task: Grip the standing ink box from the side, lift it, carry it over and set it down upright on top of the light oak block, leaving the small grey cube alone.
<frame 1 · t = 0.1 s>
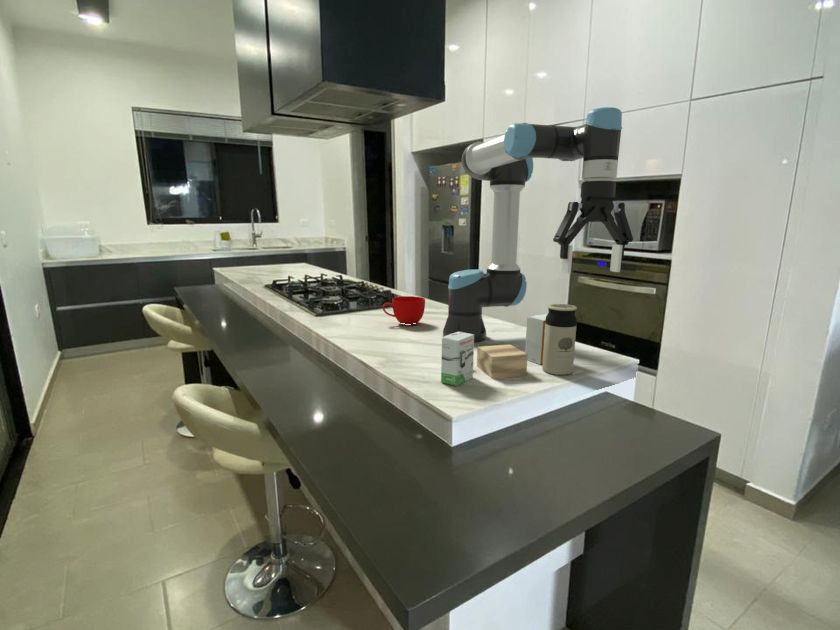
hand: (590, 272, 108), 28 cm above the counter, tool pointing down, fingers open, 13 cm apart
grey cube: (454, 366, 126), on the counter
travel mug: (557, 371, 122), on the counter
ceramic cup: (403, 324, 177), on the counter
oak block: (500, 371, 122), on the counter
small box: (541, 360, 132), on the counter
ink box: (457, 380, 115), on the counter
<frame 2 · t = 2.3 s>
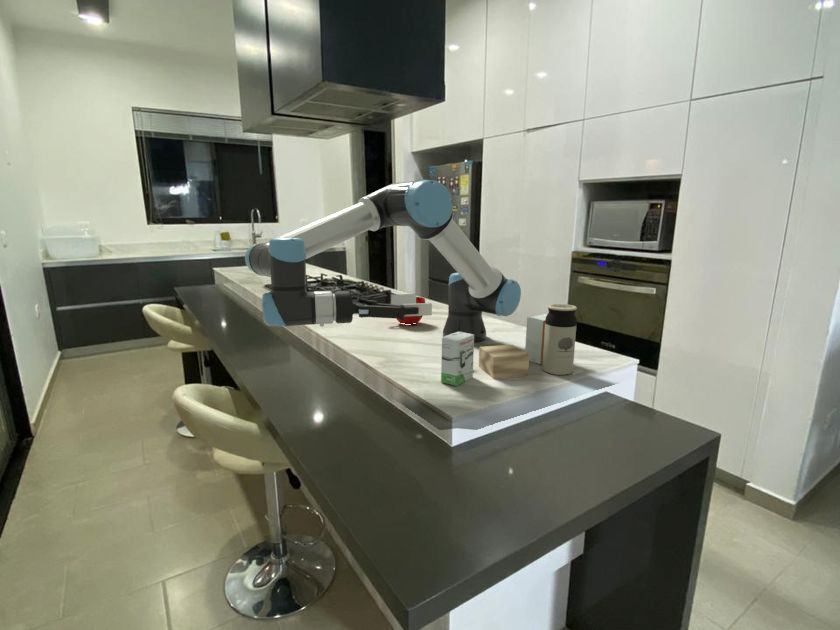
hand: (423, 303, 108), 20 cm above the counter, tool horizontal, fingers open, 13 cm apart
nothing on the counter moved.
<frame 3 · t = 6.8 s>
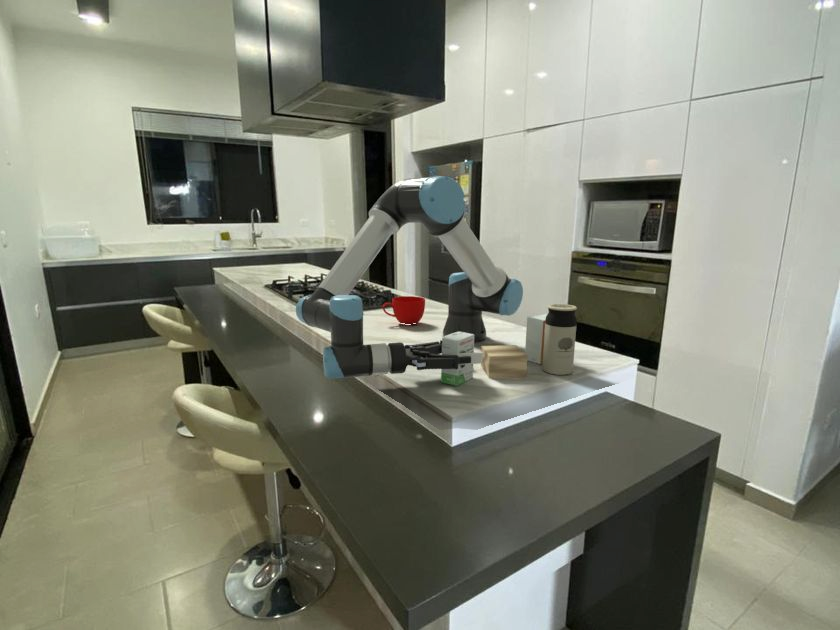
hand: (474, 352, 115), 7 cm above the counter, tool horizontal, fingers closed on ink box, 9 cm apart
ink box: (457, 380, 115), on the counter, touching gripper
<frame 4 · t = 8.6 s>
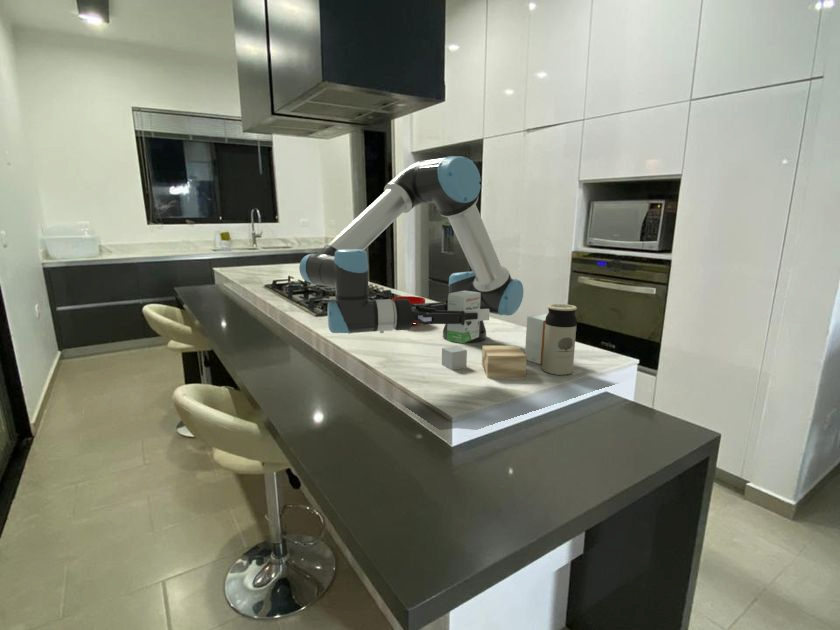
hand: (481, 310, 113), 18 cm above the counter, tool horizontal, fingers closed on ink box, 9 cm apart
ink box: (463, 339, 113), point 11 cm above the counter, touching gripper
when the fingers open (14 cm above the counter, at t = 10.8 s): ink box drops 2 cm, resting on oak block.
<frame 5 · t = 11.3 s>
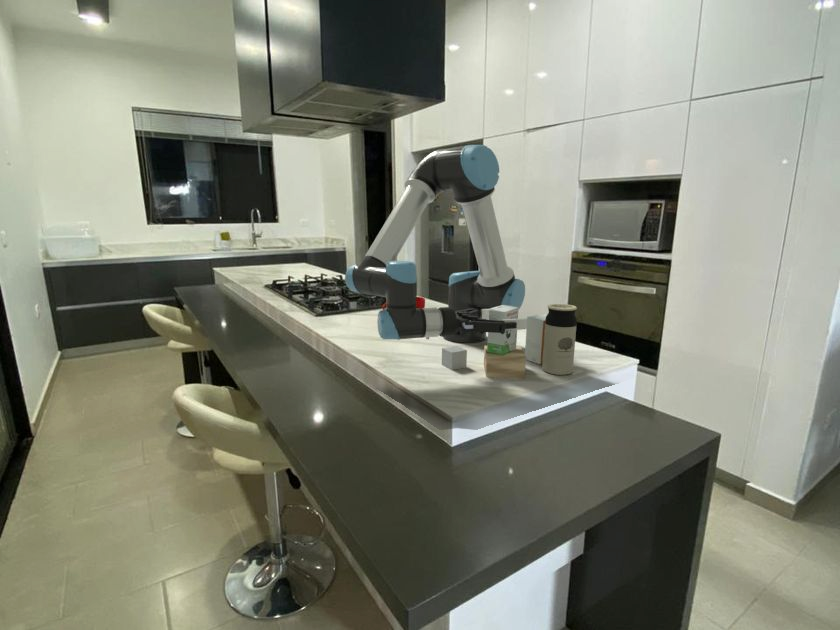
hand: (514, 318, 120), 14 cm above the counter, tool horizontal, fingers open, 13 cm apart
oak block: (503, 372, 122), on the counter, touching ink box
ink box: (501, 351, 121), point 5 cm above the counter, touching oak block
everything else where it was.
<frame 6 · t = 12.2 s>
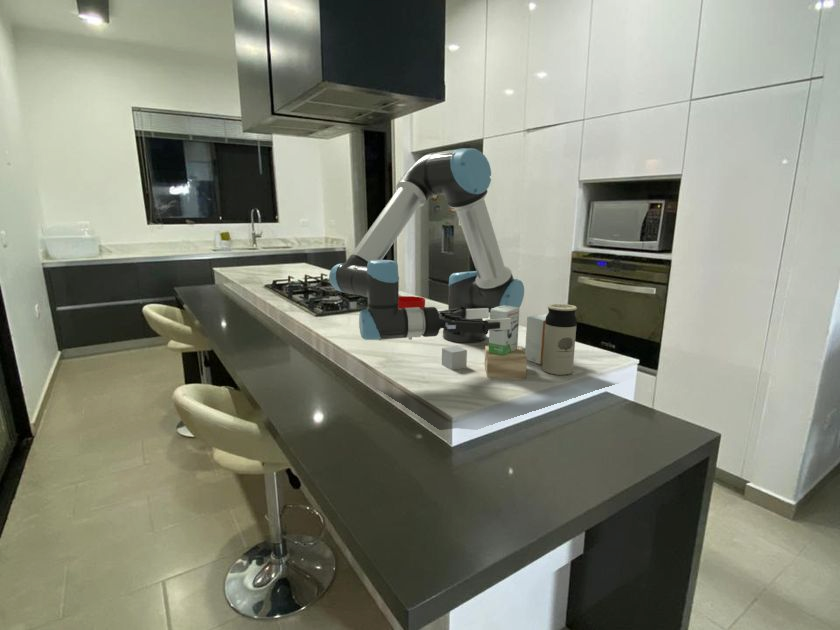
hand: (498, 318, 118), 15 cm above the counter, tool horizontal, fingers open, 13 cm apart
nothing on the counter moved.
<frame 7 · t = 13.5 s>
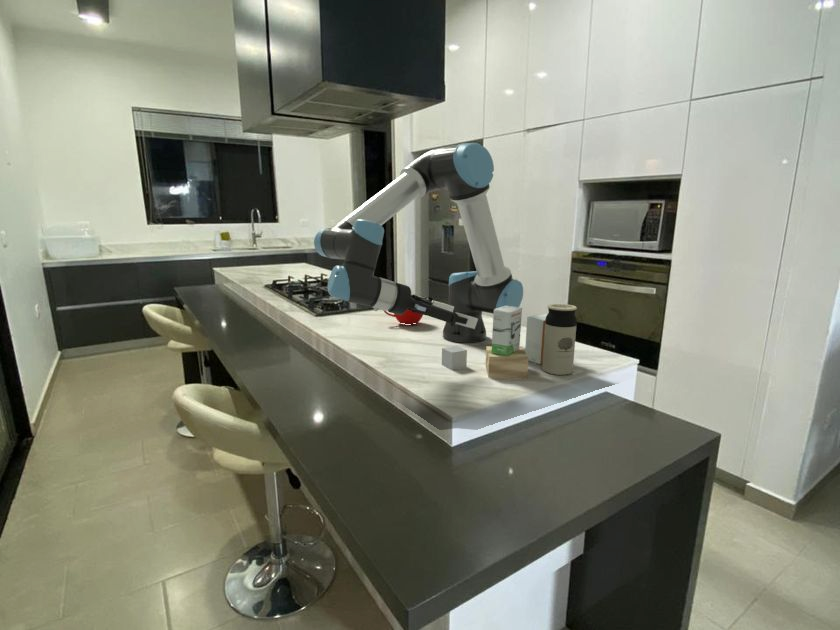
hand: (463, 317, 119), 15 cm above the counter, tool tilted 70°, fingers open, 13 cm apart
oak block: (505, 372, 122), on the counter
ink box: (505, 351, 121), point 5 cm above the counter
everything else where it was.
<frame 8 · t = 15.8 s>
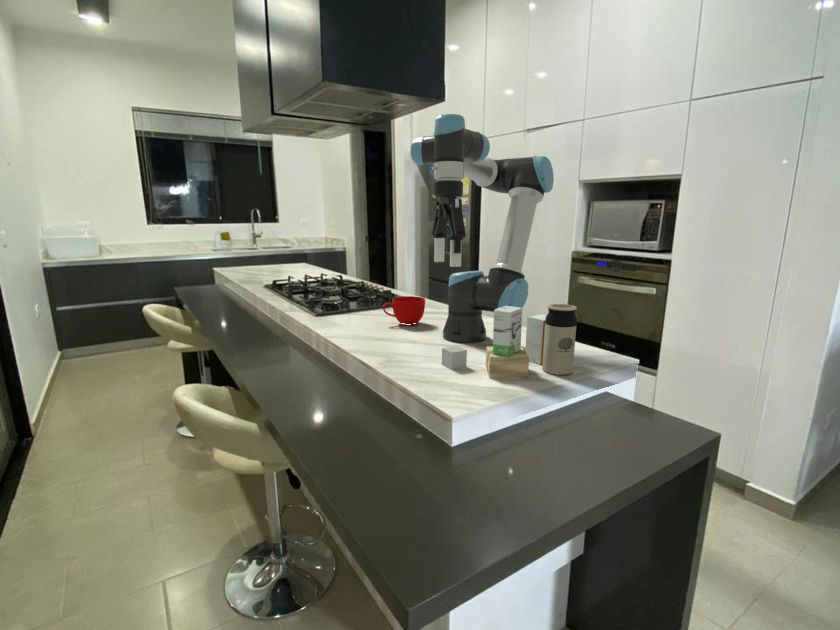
hand: (446, 264, 118), 29 cm above the counter, tool pointing down, fingers open, 13 cm apart
oak block: (505, 373, 121), on the counter, touching ink box
ink box: (506, 352, 120), point 5 cm above the counter, touching oak block
everything else where it was.
at the end: ink box inside the target area on the oak block (0.1 cm from its centre), point 5.8 cm above the oak block's base; ink box tilted 1°; the gripper is holding nothing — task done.
